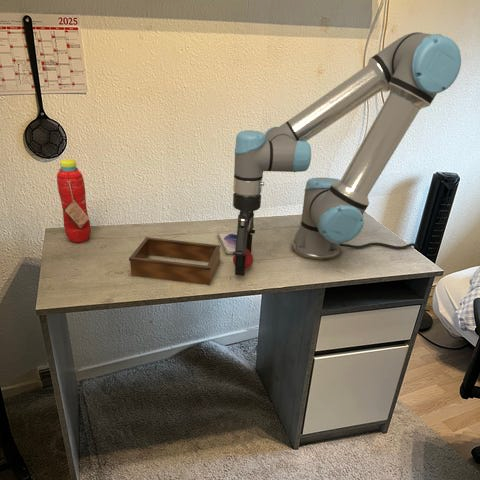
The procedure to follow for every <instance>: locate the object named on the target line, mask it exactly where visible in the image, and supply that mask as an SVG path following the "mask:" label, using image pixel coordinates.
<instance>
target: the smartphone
mask: <svg viewBox="0 0 480 480" xmlns="http://www.w3.org/2000/svg"><path fill="white" fill-rule="evenodd" d="M217 236H218V239H219V241H220V243H221V245H222V247H223V249H224V251H225V253H226V254H227V255H233V252H235V248H236V239H237V232H219V233H217Z"/></svg>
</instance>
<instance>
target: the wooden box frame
mask: <svg viewBox="0 0 480 480" xmlns="http://www.w3.org/2000/svg"><path fill="white" fill-rule="evenodd" d="M221 245H222V244H221ZM221 245H220V244H212V243H202V242H195V241H186V240H176V239H168V238H159V237H158V238H157V237H151V236H150V237H149V236H146V237H144V239H143V240H142V242H141V243H140V244H139V245H138V246H137V248H136V249H135V250H134V251H133V253H132V254H131V255H130V256H129V257H128V261H129V265H130V276H132V277H133V276H134V277H140V278H147V279H157V280H166V281H174V282H183V283H190V284H199V285H206V286H210V285H211V282H212V280H213V278H214V277H215V273H216V271H217V268H218V266H219V264H220V262H221V261H220V258H221V256H220V255H221V248H222V246H221ZM149 256H155V257H163V258H172V259H182V260H190V261H198V262H207V264H206V265H205V264H197V263H196V264H195V263H187V262H178V261H171V260H163V259H162V260H161V259H153V258H148V257H149Z"/></svg>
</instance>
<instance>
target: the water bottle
mask: <svg viewBox="0 0 480 480" xmlns="http://www.w3.org/2000/svg"><path fill="white" fill-rule="evenodd" d="M59 166H60V168H59V169H58V172H57V174H56V183H57V184H56V185H57V190H58V195H59V198H60V203H61V208H62V217H63V228H64V233H65V235H66V237H67V238H68V240H69V242H72V243H76V244H77V243H78V244H80V243H85V242H87V241H89V239H90V236H91V233H92V231H91V223H90V217H89V213H88V209H87V199H86V198H87V197H86V186H85V185H86V184H85V180H84V177H83V176H84V175H83V174H82V172H81V171H80V170H79V169H78V167H77V166H78V164H77V162H76V160H75V159H70V158H65V159H61V160H60V161H59Z"/></svg>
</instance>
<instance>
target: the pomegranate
mask: <svg viewBox="0 0 480 480" xmlns="http://www.w3.org/2000/svg"><path fill="white" fill-rule="evenodd" d="M245 253H246V261H245V271H246V270H248V269H250V267H252V265H253V263H254V256H253V253H252V251H251V252H250V251H249V250H248V249H247V248H246V251H245ZM235 260H236V256H235V255H233V257H232V262H233V264H234V265H233V266H235Z"/></svg>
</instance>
